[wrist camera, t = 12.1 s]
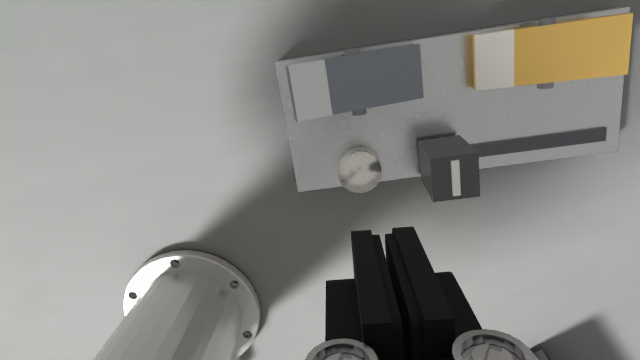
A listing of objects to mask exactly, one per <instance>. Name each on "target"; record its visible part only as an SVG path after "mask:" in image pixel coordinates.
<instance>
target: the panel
mask: <svg viewBox="0 0 640 360" xmlns="http://www.w3.org/2000/svg"><path fill="white" fill-rule="evenodd" d="M621 13H630V7H620V8H609V9H602V10H596V11H589V12H583V13H577V14H570V15H564V16H558V17H556V23H558V22H565V21H572V20H579V19H586V18H593V17H600V16H607V15H614V14H621ZM537 25H538V20H532V21H526V22H519V23H513V24H507V25H500V26H494V27H488V28H481V29H475V30H468V31H462V32H456V33H449V34H443V35H437V36H430V37H424V38H417V39H411V40H405V41H398V42H392V43H386V44H379V45H373V46H367V47H360V48H359V52H360V53H363V52H369V51H375V50H380V49H386V48H392V47H398V46H404V45H410V44H420V52H421V66H422V81H423V95H424V98H421V99H416V100H410V101H405V102H400V103H394V104H389V105H383V106H378V107H373V108H367V109H366V112H367V113H366V114H364V115H359V116H353V115H352V111H351V112H346V113H340V114H335V115H331V116H326V117H321V118H315V119H310V120H304V121H299V122H298V121H297V122H296V121H295V119H294V114H293V109H292V103H291V97H290V92H289V86H288V80H287V74H286V69H285V66H286V65H290V64H296V63H302V62H308V61H314V60H320V59H328V58H333V57H339V56H345V54H344V50H341V51H335V52H328V53H322V54H316V55H309V56H303V57H296V58H290V59H284V60H278V61H276V62H274V63H275V69H276V74H277V80H278V85H279V91H280V96H281V102H282V107H283V113H284V118H285V124H286V129H287V134H288V140H289V145H290V151H291V156H292V162H293V167H294V173H295V178H296V184H297V189H298V192H302V191H310V190H318V189H326V188H334V187H342V186H344V187H345V188H346V189H347V190H349V191H351V192H355V193H364V192H368V191H370V190H372V189H373V188H374V187H375V186H376V185H377V184H378V183H379V182H381V181H389V180H397V179H404V178H412V177H420V176H421V173H420V160H419V147H418V141H420V140H427V139H434V138H442V137H449V136H457V135H460V136H461V137H462V138H463V139H464V140H465V141H467V142H468V143H469V144H470V145H471V146H472V147H473V148H474V149H475V150H476V151H478V152H479V169H483V168H491V167H499V166H506V165H514V164H522V163H530V162H538V161H546V160H554V159H561V158H569V157H577V156H585V155H593V154H601V153H608V152H616V151H618V140H619V129H620V117H621V106H622V94H623V83H624V75H618V76H608V77H599V78H589V79H580V80H570V81H561V82H554V87H553V88H549V89H537V84H532V85H522V86H514V87H507V88H497V89H488V90H478V91H476V90H475V91H474V88H473V63H472V35H473V34H478V33H485V32H492V31H499V30H506V29H516V28H523V27H530V26H537Z"/></svg>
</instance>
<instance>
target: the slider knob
mask: <svg viewBox="0 0 640 360" xmlns="http://www.w3.org/2000/svg"><path fill="white" fill-rule="evenodd" d="M418 147H419V160H420V173H421V180H422V182H423V184H424V185H425V187H426V189H427V191H428V193H429V195H430V197H431V199H432V200H433V202H437V201H445V200H454V199H462V198H470V197H478V196H480V182H479V152H478V151H476V150H475V149H474V148H473V147H472V146H471V145H470V144H469V143H468V142H467V141H465V140H464V139H463V138H462V137H461V136H460V135H457V136H449V137H442V138H434V139H427V140H420V141H418Z"/></svg>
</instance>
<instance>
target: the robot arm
mask: <svg viewBox="0 0 640 360" xmlns="http://www.w3.org/2000/svg"><path fill="white" fill-rule="evenodd" d="M351 241H352V253H353V266H354V279H343V280H329V281H326V336H325V342H323V343H321V344H320V345H318V346H316V347H314V348H313V349H312V350H311V351H310V352H309V353H308V355H307V357H306V359H305V360H539V359H538V358H537V357H536V356H535V355H534V354H533V353H532V351H531V350H530V349H529V348H528V347H527V346H526V345H525V344H523V343H522V342H521V341H520V340H518V339H516V338H515V337H513V336H511V335H509V334H506V333H503V332H500V331H495V330H488V329H482V328H481V326H480V324H479V322H478V320H477V318H476V316H475V314H474V313H473V311H472V309H471V307H470V305H469V303H468V301H467V299H466V298H465V296H464V294H463V292H462V290H461V288H460V286H459V284H458V283H457V281H456V279H455V277H454V275H453V274H452V272H439V273H434V271H433V269H432V266H431V264H430V262H429V260H428V258H427V255H426V253H425V251H424V249H423V247H422V244H421V242H420V240H419V238H418V236H417V233H416V231H415V229H414V227H402V228H393V229H392V234H385V247H386V258H385V255H384V251H383V247H382V243H381V239H380V236H379V235H372V233H371V230H363V231H351ZM123 307H124V314H125V317H124V319H123V320H122V321H121V323H120V324H119V325H118V327H117V328H116V329H115V331H114V332H113V334H112V335H111V336H110V338H109V339H108V340H107V342H106V343H105V344H104V346H103V347H102V349H101V350H100V351H99V353H98V354H97V355H96V357H95V358H94V359H93V360H235V359H236V358H238V357H239V356H241V355H242V354H243V353H244V352H245V351H246V350H247V349H248V348H249V347H250V345H251V344H252V342H253V341H254V339H255V336H256V333H257V331H258V327H259V322H260V305H259V301H258V297H257V295H256V293H255V290H254V288H253V286H252V285H251V284H250V282H249V281H248V279H247V278H246V277H245V276H244V275H243V274H242V273H241V272H240V271H239V270H238V269H237V268H236V267H234V266H233V265H231V264H230V263H228V262H227V261H225V260H223V259H221V258H218V257H216V256H214V255H211V254H208V253H204V252H200V251H191V250H180V251H171V252H167V253H163V254H160V255H158V256H156V257H154V258H152V259H150V260H149V261H147V262H146V263H145V264H143V265H142V266H141V267H140V268H139V269H138V271H137V272H136V273H135V274H134V275H133V277H132V278H131V280H130V281H129V283H128V285H127V287H126V290H125V293H124V302H123Z"/></svg>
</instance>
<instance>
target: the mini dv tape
mask: <svg viewBox="0 0 640 360" xmlns="http://www.w3.org/2000/svg"><path fill="white" fill-rule="evenodd" d="M530 350H531V351H532V353H533V354H534V355H535V356H536V357H537V358H538V359H539V360H551V359H550V358H549V357H548V355H547V354H546V352H545V351H544V350H543V348H542V347H541V346H540V344H539V345H537V346H535V347H533V348H531V349H530Z"/></svg>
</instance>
